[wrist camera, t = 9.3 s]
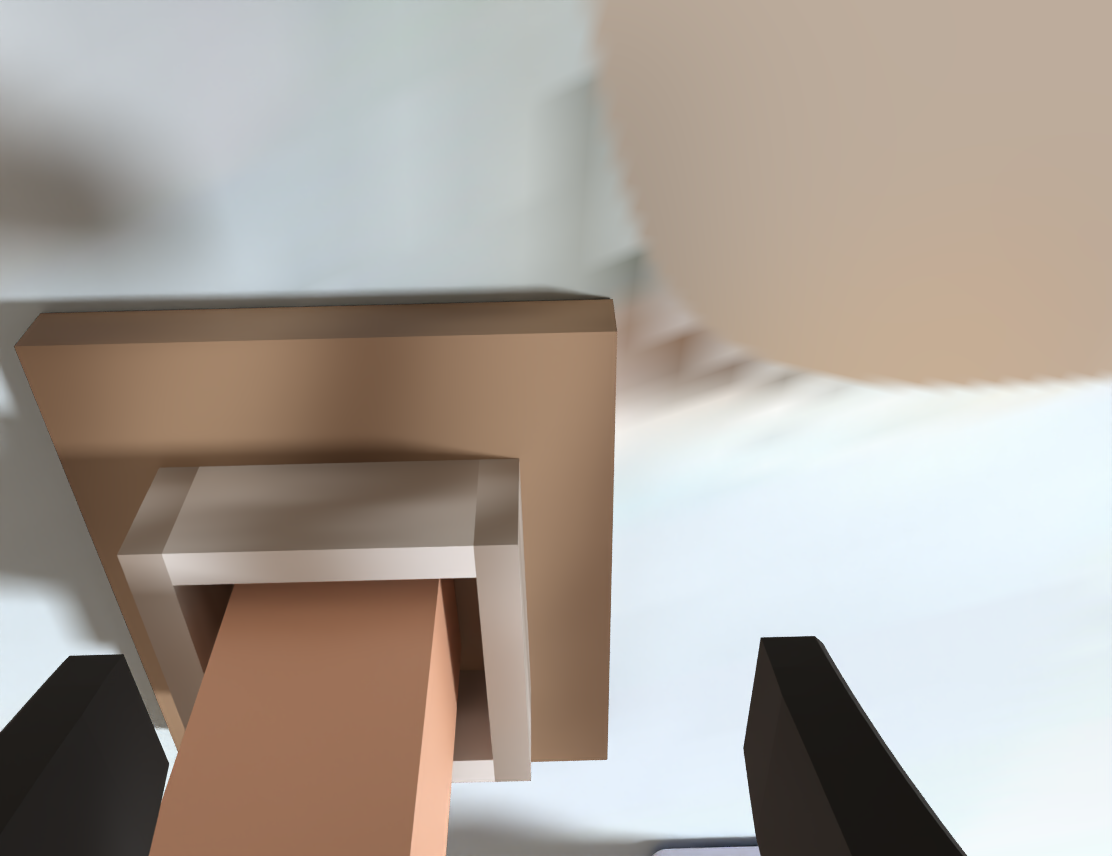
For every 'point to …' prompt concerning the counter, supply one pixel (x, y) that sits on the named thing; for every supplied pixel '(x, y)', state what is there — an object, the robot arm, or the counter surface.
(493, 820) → the counter surface
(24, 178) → the counter surface
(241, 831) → the peg
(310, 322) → the socket board
